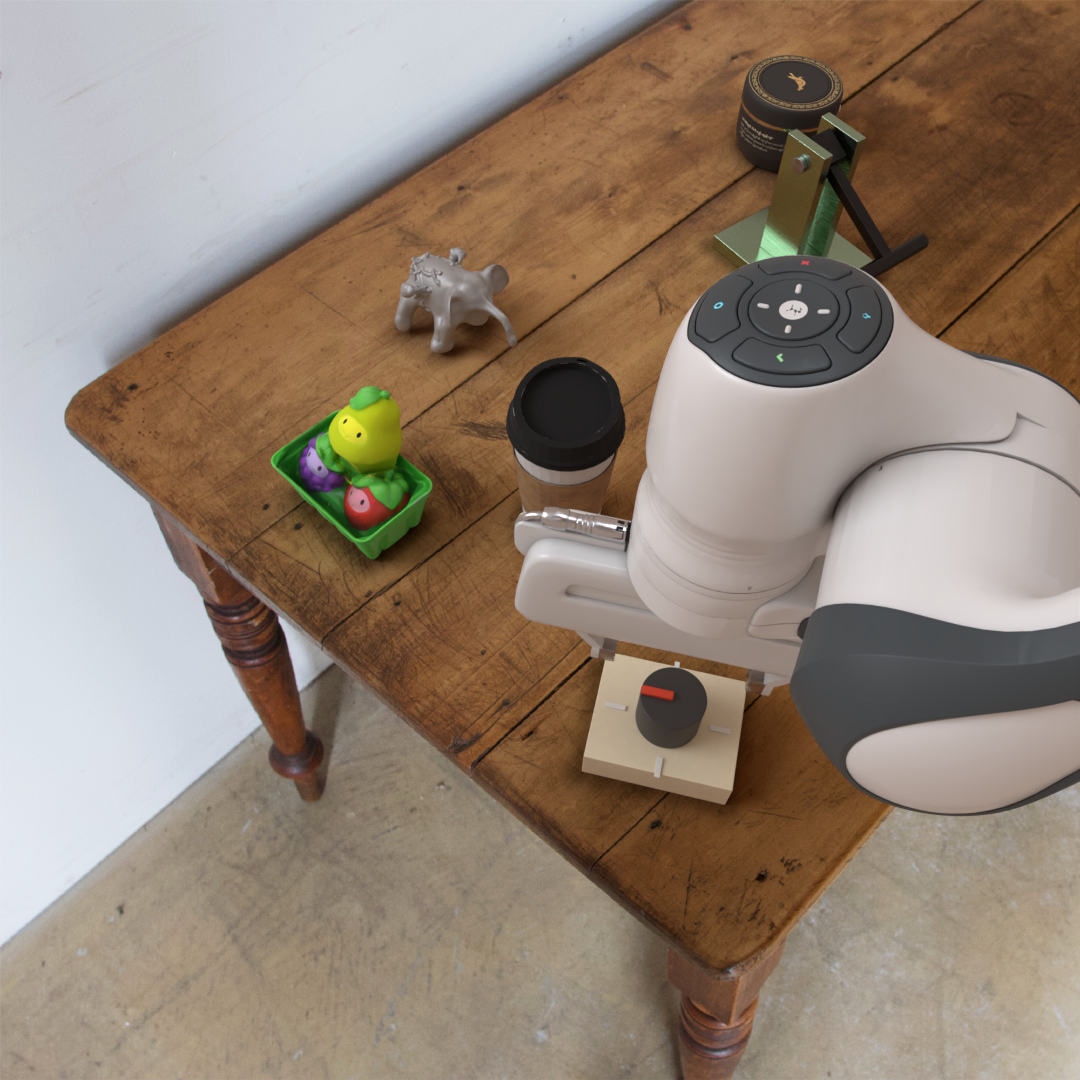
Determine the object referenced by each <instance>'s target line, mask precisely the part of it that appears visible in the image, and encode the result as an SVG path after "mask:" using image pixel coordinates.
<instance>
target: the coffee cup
mask: <svg viewBox="0 0 1080 1080" xmlns="http://www.w3.org/2000/svg"><path fill="white" fill-rule="evenodd" d="M620 392H621V391H620V388H619V385H618V383H617V381H616V380H615V378H614V377H613V375H612V374H611V373H610V372H609V371H607V370H606V369H605V368H603V366H601V365H600V364H597V363H596V362H594V361H592V360H590V359H588V358H585V357H582V356H562V357H555V358H550V359H547V360H544V361H541V362H540V363H538V364H537V365H535V366H534V367H532V368H531V369H530V370H529V371H528V372H526V374H525V375H524V376H523V377H522V379H521V380H520V381H519V383H518V385H517V386H516V389H515V392H514V395H513V398H512V399H511V401H510V403H509V405H508V409H507V412H506V418H505V429H506V434H507V435H506V436H507V437H508V440H509V441H510V444H511V452H512V458H513V463H514V469H515V475H516V481H517V486H518V489H519V490H518V491H519V496H520V502H521V508H522V513H523V512H531V511H543V510H544V508H545V507H548V506H552V507H561V508H565V509H573V510H580V511H585V512H589V513H594V514H599V515H601V512H602V510H603V509H602V508H603V507H604V503H605V499H606V496H607V493H608V489H609V485H610V482H611V478H612V474H613V471H614V467H615V464H616V461H617V455H618V452H619V448H620V446H621V444H622V443H623V441H624V439H625V435H626V430H627V428H626V414H625V409H624V406H623V402H622V397H621V393H620Z"/></svg>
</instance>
